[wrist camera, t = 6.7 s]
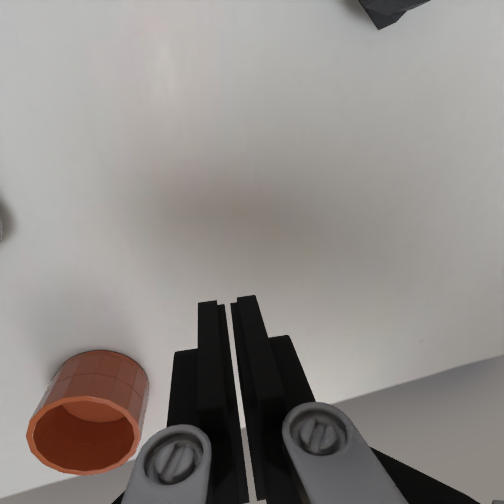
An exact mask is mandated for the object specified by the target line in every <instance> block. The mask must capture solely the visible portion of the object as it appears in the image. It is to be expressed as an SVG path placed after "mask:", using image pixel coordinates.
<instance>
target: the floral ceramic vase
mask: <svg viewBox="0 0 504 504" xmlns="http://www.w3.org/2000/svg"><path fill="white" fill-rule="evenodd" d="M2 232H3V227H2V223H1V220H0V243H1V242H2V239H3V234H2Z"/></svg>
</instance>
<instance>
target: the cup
mask: <svg viewBox="0 0 504 504" xmlns="http://www.w3.org/2000/svg"><path fill="white" fill-rule="evenodd" d="M148 390H149V383H148V379H147V376H146V374H145V372H144V371H143V369H142V368H141V367H140V366H139V365H138V364H137V363H136V362H135V361H133V360H132V359H130V358H129V357H127V356H125V355H122V354H119V353H116V352H111V351H102V350H101V351H89V352H85V353H82V354H79V355H76V356H74V357H72V358H71V359H69V360H68V361H66V362H65V363H64V364H63V365H62V366H61V367H60V369H59V370H58V372H57V373H56V374H55V375H54V377H53V379H52V381H51V383H50V385H49V386H48V388H47V390H46V392H45V394H44V396H43V397H42V399H41V401H40V403H39V405H38V406H37V408H36V410H35V412H34V414H33V416H32V417H31V419H30V422H29V426H28V429H27V433H26V438H27V441H28V444H29V447H30V450H31V452H32V453H33V454H34V455H35V456H36V457H37V458H38V459H39V460H40V461H41V462H42V463H43V464H44V465H46V466H48V467H51V468H53V469H55V470H57V471H60V472H63V473H68V474H76V475H91V474H99V473H105V472H107V471H110V470H112V469H114V468H117V467H119V466H121V465H123V464H124V463H125V462H126V461H127V460H128V459H129V458H130V457H132V456H133V455H134V454H135V452H136V450H137V447H138V445H139V442H140V439H141V434H142V429H143V423H144V418H145V412H146V406H147V401H148V395H149V393H148Z"/></svg>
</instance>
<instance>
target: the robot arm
mask: <svg viewBox="0 0 504 504" xmlns="http://www.w3.org/2000/svg"><path fill="white" fill-rule="evenodd" d="M230 305H231V314H232V322H233V331H234V339H235V348H236V356H237V365H238V373H239V381H240V389H241V395H242V402H243V409H244V416H245V422H246V429H247V436H248V442H249V450H250V456H251V463H252V470H253V477H254V483H255V490H256V497H257V501H259V500H264V499H266V502H267V504H480V503H478V502H476V501H475V500H474V499H472V498H470V497H469V496H467V495H465V494H463V493H461V492H459V491H457V490H455V489H453V488H451V487H449V486H447V485H445V484H443V483H441V482H439V481H437V480H435V479H433V478H431V477H429V476H427V475H425V474H423V473H421V472H419V471H417V470H415V469H413V468H411V467H409V466H407V465H405V464H403V463H401V462H399V461H397V460H395V459H393V458H391V457H389V456H387V455H385V454H383V453H381V452H379V451H377V450H375V449H373V448H371V447H369V446H368V444H367V443H366V441H365V440H364V438H363V437H362V436H361V434H360V433H359V431H358V430H357V428H356V427H355V425H354V424H353V422H352V421H351V420H350V418H348V417H347V415H346V414H345V413H344V412H343V411H341V410H340V409H338V408H336V407H335V406H332V405H329V404H326V403H322V402H316V401H315V398H314V396H313V393H312V391H311V388H310V386H309V383H308V381H307V378H306V376H305V373H304V371H303V368H302V366H301V363H300V361H299V358H298V356H297V353H296V351H295V348H294V346H293V343H292V341H291V339H290V337H289V335H284V336H277V337H270V338H268V335H267V332H266V329H265V326H264V322H263V319H262V316H261V312H260V309H259V306H258V302H257V299H256V296H255V295H251V296H244V297H237V302H236V303H230ZM244 503H249V494H248V486H247V478H246V470H245V461H244V453H243V445H242V437H241V429H240V421H239V413H238V405H237V397H236V390H235V382H234V374H233V366H232V359H231V351H230V343H229V335H228V328H227V320H226V312H225V304H222V305H217V300H215V301H207V302H200V303H198V348H197V349H191V350H184V351H177V352H175V354H174V361H173V371H172V380H171V390H170V399H169V409H168V419H167V428H165V429H163V430H161V431H159V432H157V433H156V434H155V435H153V436H152V437H151V438H149V440H148V441H147V442H146V443H145V444H144V445H143V446H142V448H141V450H140V452H139V454H138V456H137V458H136V461H135V464H134V467H133V470H132V473H131V476H130V479H129V481H128V484H127V487H126V490H125V491H124V492H123V493H122V494H121V495H120V496H119V497H118V498H117V499H116V500H115V501H114V502H113V503H112V504H244ZM492 504H504V501H502V500H493V501H492Z"/></svg>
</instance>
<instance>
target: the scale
mask: <svg viewBox="0 0 504 504" xmlns="http://www.w3.org/2000/svg"><path fill="white" fill-rule="evenodd" d="M428 1H430V0H359V2H360V3H361V5H362V6H363V8H364V9H365V11H366V12H367V13H368V15H369V16H370V18H371V19H372V21H373V22H374V24H375V25H376V27H377V28H378V29H379V30H380V29H382V28H384V27H387V26H389V25H391V24H393V23H395V22H397V21H398V20H399V18H400V17H401V16H402V15H403V14H404V13H405V12H406V11H407V10H410V9H413V8H415V7H418V6H420V5H422V4H424V3H426V2H428Z"/></svg>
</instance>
